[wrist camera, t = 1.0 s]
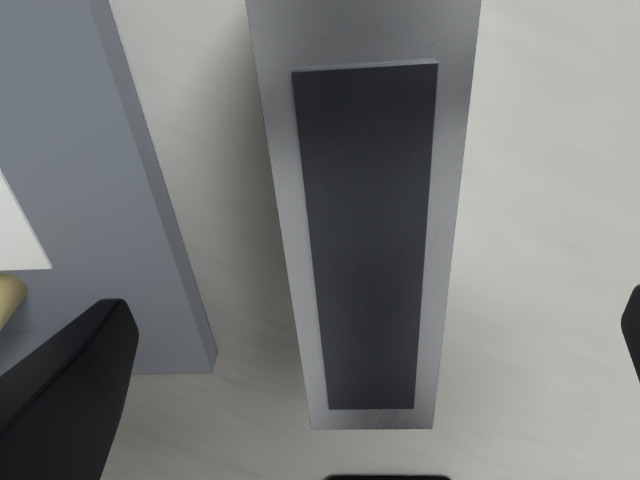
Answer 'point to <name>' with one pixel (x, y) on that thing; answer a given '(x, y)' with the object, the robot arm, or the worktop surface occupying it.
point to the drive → (367, 191)
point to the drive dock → (85, 193)
